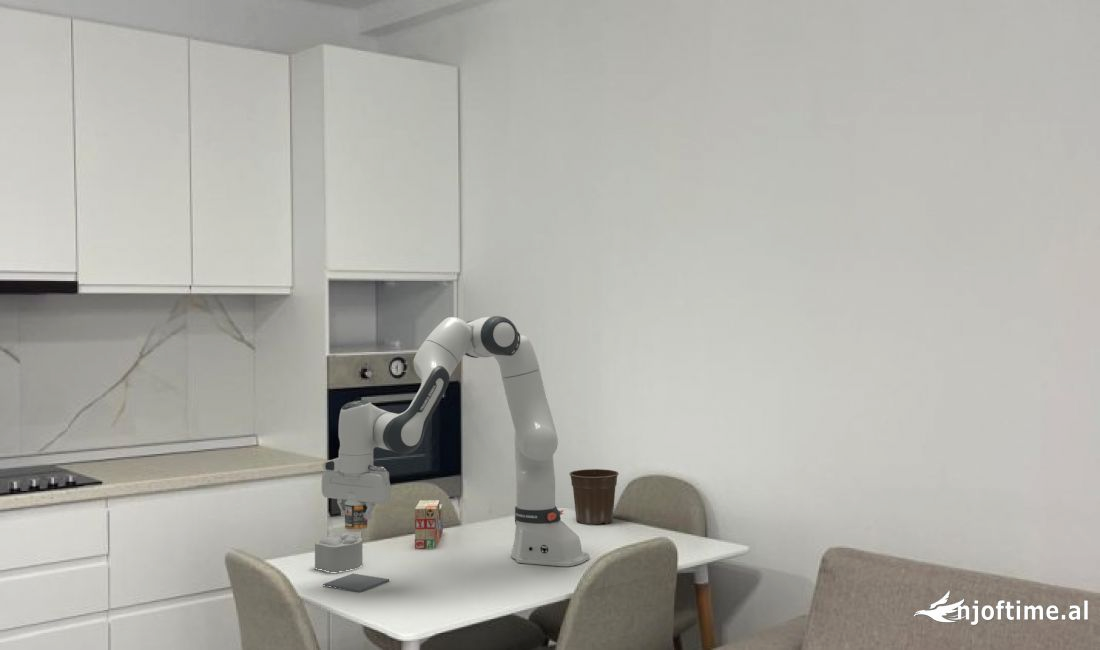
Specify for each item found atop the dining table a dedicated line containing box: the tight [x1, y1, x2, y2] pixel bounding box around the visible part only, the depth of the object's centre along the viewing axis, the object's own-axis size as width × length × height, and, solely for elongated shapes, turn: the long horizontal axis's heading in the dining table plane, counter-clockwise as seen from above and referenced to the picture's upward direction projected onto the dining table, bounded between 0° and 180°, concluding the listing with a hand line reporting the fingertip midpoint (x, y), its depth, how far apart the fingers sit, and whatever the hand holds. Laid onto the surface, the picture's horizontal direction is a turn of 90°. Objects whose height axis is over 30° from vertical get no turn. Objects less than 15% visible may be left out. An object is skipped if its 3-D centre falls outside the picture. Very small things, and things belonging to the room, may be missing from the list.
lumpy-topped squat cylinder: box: [314, 532, 363, 572], centre depth 296 cm, size 10×13×9 cm
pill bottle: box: [344, 492, 368, 533], centre depth 278 cm, size 6×6×10 cm
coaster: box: [322, 573, 390, 593], centre depth 278 cm, size 12×12×1 cm
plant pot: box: [569, 468, 620, 525], centre depth 356 cm, size 16×16×16 cm
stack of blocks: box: [414, 499, 444, 550], centre depth 327 cm, size 21×6×12 cm, turn 0°
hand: (356, 517), depth 278 cm, fingers closed on pill bottle, 6 cm apart
